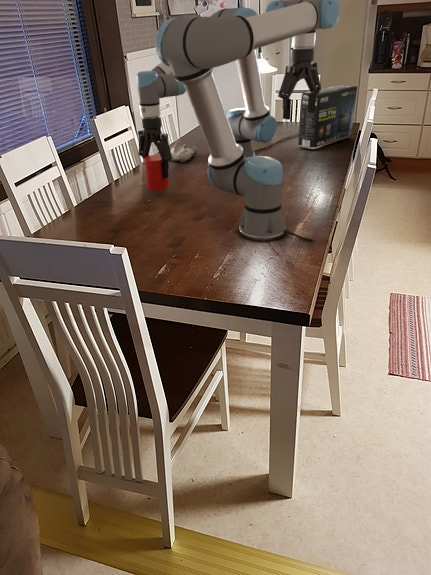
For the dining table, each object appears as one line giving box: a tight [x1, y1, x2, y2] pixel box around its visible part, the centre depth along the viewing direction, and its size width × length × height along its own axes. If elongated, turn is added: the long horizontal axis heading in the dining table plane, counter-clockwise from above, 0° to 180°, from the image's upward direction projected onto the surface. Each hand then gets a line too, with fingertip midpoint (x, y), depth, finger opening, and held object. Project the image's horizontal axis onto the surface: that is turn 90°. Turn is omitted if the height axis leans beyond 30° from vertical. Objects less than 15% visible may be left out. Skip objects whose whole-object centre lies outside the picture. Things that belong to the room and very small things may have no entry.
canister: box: [143, 154, 169, 191], centre depth 183 cm, size 8×8×12 cm
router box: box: [297, 84, 358, 151], centre depth 238 cm, size 36×11×27 cm, turn 134°
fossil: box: [170, 142, 199, 163], centre depth 229 cm, size 18×11×15 cm
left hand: (157, 175), depth 184 cm, fingers closed on canister, 8 cm apart
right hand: (299, 115), depth 161 cm, fingers open, 13 cm apart
